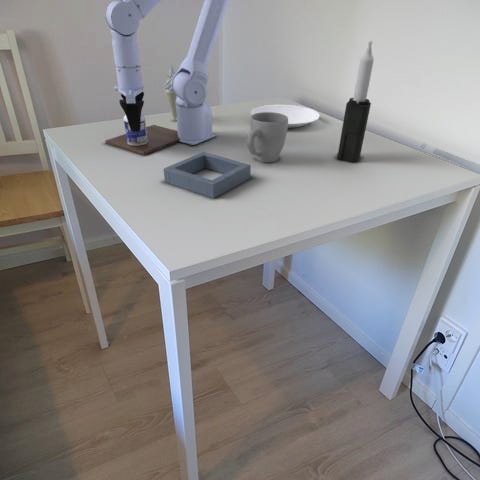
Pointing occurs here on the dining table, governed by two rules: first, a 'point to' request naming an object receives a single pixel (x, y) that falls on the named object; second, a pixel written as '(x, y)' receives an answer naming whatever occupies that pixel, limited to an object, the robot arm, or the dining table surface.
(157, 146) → the board
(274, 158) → the mug
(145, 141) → the pill bottle
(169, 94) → the ice cream cone
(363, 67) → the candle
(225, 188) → the square frame
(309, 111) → the plate
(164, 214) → the dining table surface
